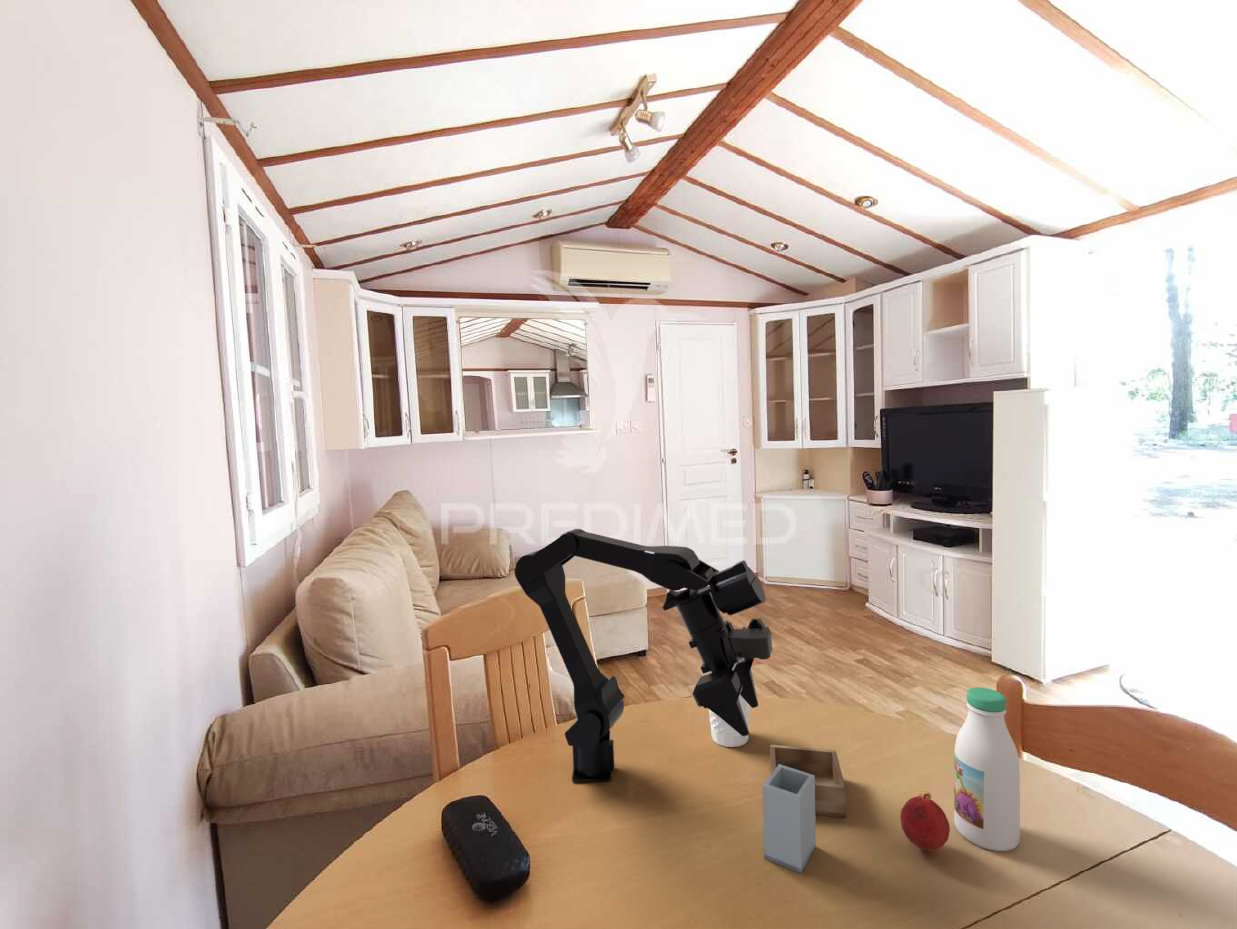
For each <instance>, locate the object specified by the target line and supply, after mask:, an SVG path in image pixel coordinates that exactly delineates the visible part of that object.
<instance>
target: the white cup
mask: <svg viewBox="0 0 1237 929" xmlns="http://www.w3.org/2000/svg"><path fill="white" fill-rule="evenodd" d="M739 702H740V705H741V708H742V711H743V714H744V717H745V720H746V723H747V726H748V730H749V727H750V715H751V706H750V705H749V704H748V703H747V702H746V701H745V700H744V699H743V697H742V696H741V695H740V696H739ZM708 714H709V724H710V734H711V739H712V741H713V742H715V743H716V744H717V745H719V746H723V747H727V748H737V747H741V746H744V745H746V744H747V743H748V741H749V735H746V736H741V735H740V734H739V733H738V732H737V731H736V730H734V729H733V728H732V727H731V726H730V725H729V724H727V723H726V722H725V721H724V720H723V719H721V718H720V717H719V716H718V715H716V714H715V713H713V712H712V711H711V710H709V709H708Z"/></svg>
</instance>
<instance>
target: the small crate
mask: <svg viewBox="0 0 1237 929" xmlns="http://www.w3.org/2000/svg"><path fill="white" fill-rule="evenodd" d="M769 775H770V776H768V777H767V779H766V780H765V781H764V783H763V784H762V785H761V786H762V827H763V828H762V830H763V832H762V833H763V834H762V838H763V859H765V860H767V861H770V862H772V863H774V864H777V865H779V866H781V867H784V868H787V869H789V870H791V871H793V872H796V873H798V874H800V875H801V874H802V873H803V871H804V869H805V867H806V866H807V864H808V861H809V860H810V858H811V856H812V855H813V852H814V850H815V848H817V847H816V846H817V843H816V842H817V839H816V838H817V837H816V834H817V833H816V815H815V775H812V774H809V773H806V772H803V771H799V770H796V769H793V768H790V767H787V766H784V765H780V764H779V765H778V766H777V767H776V769H775V770H774V771H773V772H772V774H771V773H770V774H769Z"/></svg>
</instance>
